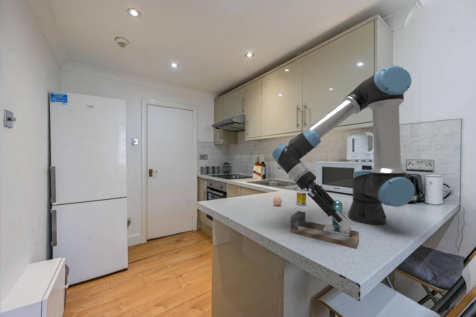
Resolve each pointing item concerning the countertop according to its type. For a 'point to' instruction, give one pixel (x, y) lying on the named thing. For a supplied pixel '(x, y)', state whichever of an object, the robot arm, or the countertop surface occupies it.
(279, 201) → the egg
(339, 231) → the sliding jaw
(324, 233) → the press base
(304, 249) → the countertop surface
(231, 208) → the countertop surface
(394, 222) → the countertop surface
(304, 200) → the supplement bottle
